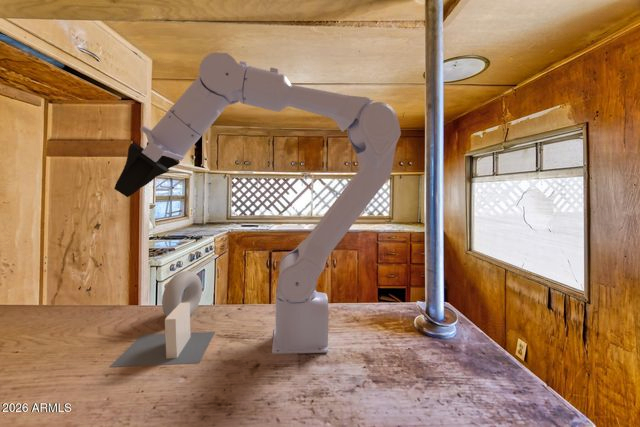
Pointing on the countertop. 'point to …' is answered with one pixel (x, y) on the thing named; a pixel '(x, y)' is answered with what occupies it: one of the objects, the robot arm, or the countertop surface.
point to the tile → (177, 330)
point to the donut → (176, 289)
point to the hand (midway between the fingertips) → (129, 187)
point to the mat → (163, 351)
